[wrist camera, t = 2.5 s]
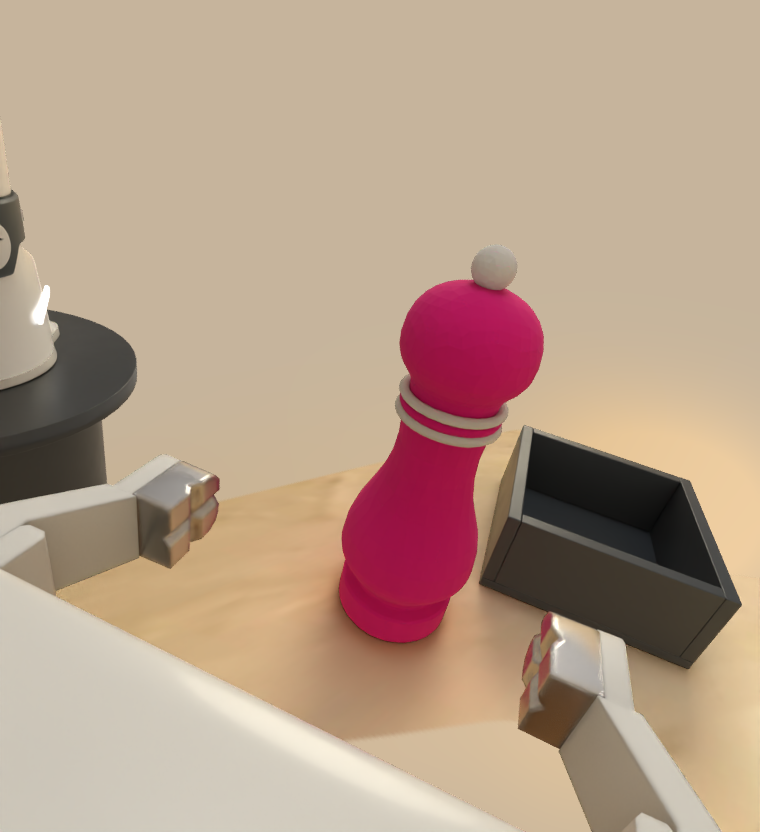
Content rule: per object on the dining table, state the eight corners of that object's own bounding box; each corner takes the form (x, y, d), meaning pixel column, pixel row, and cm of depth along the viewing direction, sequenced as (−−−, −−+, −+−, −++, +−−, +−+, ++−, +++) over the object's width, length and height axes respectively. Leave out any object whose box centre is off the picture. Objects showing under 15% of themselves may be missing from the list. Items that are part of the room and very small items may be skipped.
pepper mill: (429, 548, 33) (535, 240, 23) (470, 646, 27) (637, 286, 17) (322, 551, 30) (389, 212, 21) (341, 659, 24) (448, 253, 15)
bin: (478, 583, 31) (508, 516, 28) (501, 480, 42) (523, 424, 39) (688, 669, 28) (742, 605, 26) (654, 535, 39) (690, 480, 36)
